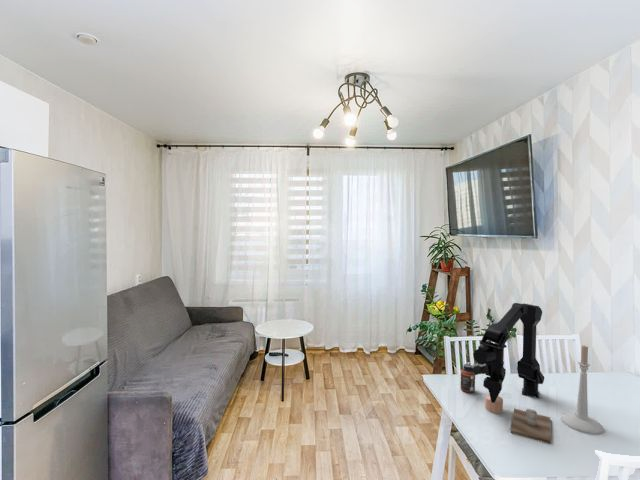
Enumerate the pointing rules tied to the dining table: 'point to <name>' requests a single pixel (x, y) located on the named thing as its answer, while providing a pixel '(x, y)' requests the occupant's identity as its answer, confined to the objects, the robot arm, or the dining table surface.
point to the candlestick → (582, 403)
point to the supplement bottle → (467, 379)
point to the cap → (494, 404)
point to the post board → (531, 425)
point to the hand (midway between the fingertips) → (494, 397)
